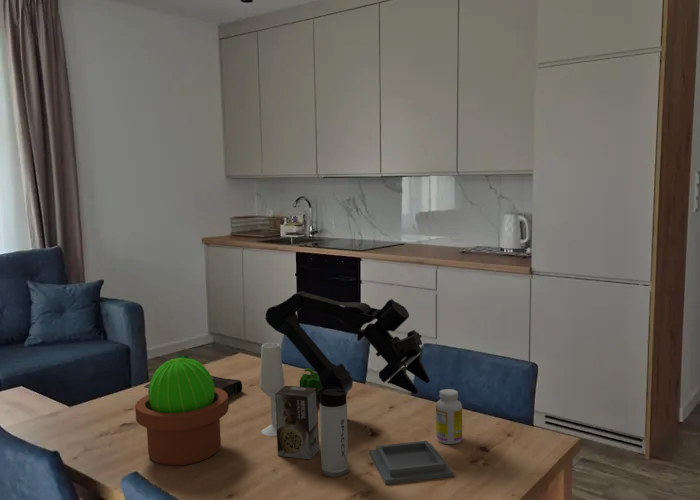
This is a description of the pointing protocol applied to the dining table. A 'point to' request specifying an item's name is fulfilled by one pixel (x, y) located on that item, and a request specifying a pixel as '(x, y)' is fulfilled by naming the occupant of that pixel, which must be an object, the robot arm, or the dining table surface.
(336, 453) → the travel mug
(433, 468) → the holder board
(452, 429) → the supplement bottle
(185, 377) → the potted cactus
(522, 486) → the dining table surface
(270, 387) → the champagne flute
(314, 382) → the bell pepper
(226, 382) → the diary
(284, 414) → the cookie box
